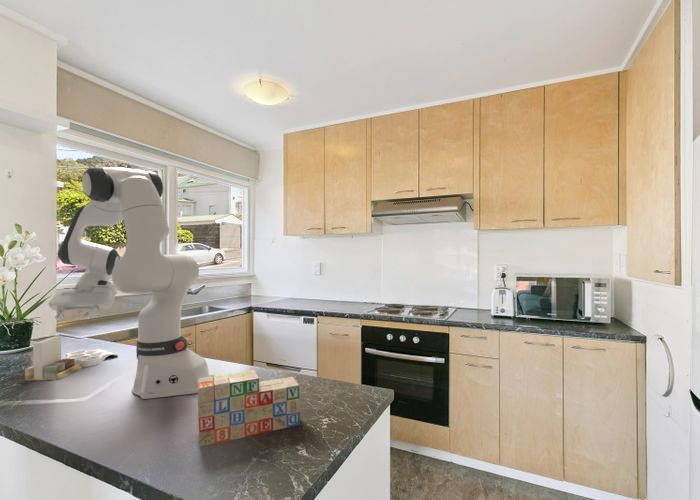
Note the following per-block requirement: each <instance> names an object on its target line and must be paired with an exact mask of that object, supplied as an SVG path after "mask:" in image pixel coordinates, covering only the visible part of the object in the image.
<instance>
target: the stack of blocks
mask: <svg viewBox="0 0 700 500" xmlns="http://www.w3.org/2000/svg"><path fill="white" fill-rule="evenodd" d="M197 405H198V406H197V410H198V411H197V413H198V415H197V416H198V447H202V446H207V445H212V444H218V443H222V442H223V443H225V442H227V441H232V440H233V441H234V440H237V439H242V438H243V439H244V438H245V437H250V436H255V435H259V434H264V433H269V432H273V431H278V430H282V429H286V428H287V429H288V428H293V427H298V426H300V425H301V400H300V384H299V383H298V381H297V380H295V378H294V376H287V377H283V378H275V379H270V380H263V381H260V377H259V376H258V374H257V373H256V370H255V369H252V370H245V371H237V372H232V373H225V374H220V375H218V374H217V375H216V376H210V377H204V378H199V379H198V393H197Z"/></svg>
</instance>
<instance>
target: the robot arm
mask: <svg viewBox="0 0 700 500" xmlns="http://www.w3.org/2000/svg"><path fill="white" fill-rule="evenodd" d="M163 184H164V183H163V180H162V179H161V177H160V175H159V174H158V173H156V172H154V171H150V170H141V169H132V168H125V167H102V166H95V167H89V168H87V169H86V170H85V171H84V173H83V176H82V181H81V185H82V190H83V191H84V194H85V196H86V197H87V198H89V200H90V201H89V203H87V204H84V205H81V206H80V207H79V208H78V209H77V210H76V211H75V213H74V216H73V217H72V220H71V222H70V224H69V227H68V230H67V231H66V234H65V237H64V239H63V241H62V242H61V244H60V245H59V247H58V249H57V250H58V251H57V258H59V260H60V261H61V263H63V264H64V265H70V266H76V267H77V266H78V267H82V268H85V271H84V273H83V274H82V275H81V276H80V278H79V279H78V281H77V283H76V284H75V286H74V287H64V288H62V289H59V290H58V291H57V292H56V293H55V294H54V295H53V296H52V298H51V299H50V301H48V307H49V308H50V309H51V310H52V311H54V312H55V311H56V315H55V319H56V320H57V321H59V320H61V321H62V320H63V319H64V317H65V315H64V314H63V313H64V312H65V311H87V310H89V311H87V312H85V313H84V315H83V318H84V319H85V320H90V319H92V317H93V316H94V315H95V314H96V313H98V312H99V310H109V309H110V308H112V306H113V305H114V303H115V299H116V295H117V291H119V292H121V293H125V294H134V295H143V294H144V295H145V294H152V297H151V299H150V300H149V302H148V303H147V304H146V305H145V306H144V307H143V308H142V309H141V310H140V311H139V313H138V316H137V328H138V329H137V331H138V333H137V337H138V339H137V341H136V349H135V350H136V353H135V354H136V360H137V366H136V373H135V379H134V382H133V386H132V389H131V391H132V393H133V394H134V395H137V396H140V398H141V399H142V400H148V399H157V398H165V397H167V398H168V397H173V396H175V397H176V396H184V395H191V394H198V379H199V378H204V377H210V376H217V375H216V373H214V372H209V367H208V366H209V365H208V362H207V361H206V359H205V358H204V357H202V356H200V355H199V354H197V353H196V352H194V351H192V350H191V349H190V348H188V342H190V340H189V339H190V337H187V338H185V337H183V336H182V335H181V332H182V331H181V329H182V328H181V324H182V322H181V321H182V319H181V318H182V310H183V305H184V304H183V303H184V301H185V298H186V296H187V294H188V291H189V290H190V288H191V287H192V286H193V285H194V284H195V283H196V281H197V280H198V278H199V275H200V269H199V264H198V263H197V260H196V259H194V258H193V257H191V256H187V255H184V254H183V255H182V254H175V253H174V254H162V253H161V249H160V248H161V243H162V242H163V241H164V240H166V239H167V237H168V236H169V234H170V229H169V224H168V220H167V217H166V213H165V209H164V206H163V202H162V199H161V197H162V195H163V193H164V185H163ZM121 222H123V223H124V228H125V233H126V248H125V251H124V253H123V255H122V257H121V258H120V254H119V252H118V251H117V250H116V249H115V248H114V247H111V246H107V245H103V244H100V243H95V242H91V241H88V240H86V239H83V238H82V235H83V233H84V232H85V228H86V227H110V226H114V225H118V224H119V223H121ZM110 279H111V281H112V282H111V281H109V280H110ZM114 286H115V287H114Z"/></svg>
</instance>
